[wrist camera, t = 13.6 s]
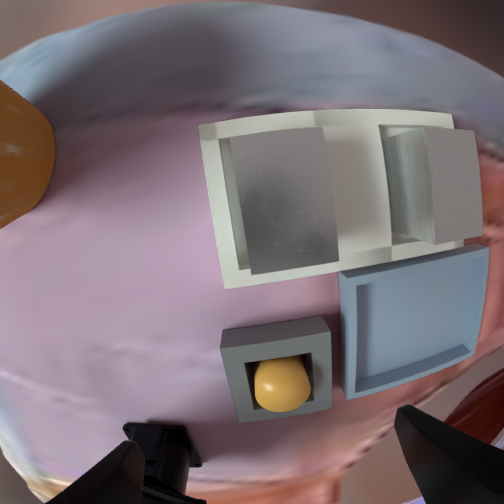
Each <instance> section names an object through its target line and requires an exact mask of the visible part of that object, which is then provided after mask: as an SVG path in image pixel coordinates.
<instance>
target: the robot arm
mask: <svg viewBox="0 0 504 504" xmlns="http://www.w3.org/2000/svg"><path fill="white" fill-rule="evenodd" d="M394 427H395V430H396V433H397V436H398V439H399V442H400V445H401V448H402V451H403V454H404V457H405V460H406V462H407V464H408V467H409V469H410V471H411V473H412V475H413V477H414V479H415V481H416V483H417V485H418V487H419V489H420V492H421V494H422V496H423V498H424V500H425V502H426V504H504V450H502V449H500V448H497V447H495V446H492V445H490V444H488V443H486V442H483V441H481V440H479V439H477V438H475V437H473V436H471V435H469V434H466V433H464V432H462V431H460V430H458V429H456V428H454V427H452V426H450V425H448V424H446V423H444V422H442V421H440V420H438V419H436V418H434V417H432V416H431V415H429V414H427V413H425V412H423V411H421V410H419V409H417V408H415V407H413V406H412V405H409V404H408V405H404V406H402V407H399V408H398V409H397V413H396V418H395V422H394ZM181 430H182V431H181ZM123 431H124V432H125V434H126V436H127V437H128V439H129V440H130V441H127V440H126V441H123V442H122V443H121V444H120V445H118V446H117V447H116V448H115V449H114V450H113V451H111V452H110V453H109V454H108V455H107V456H105V457H104V458H103V459H102V460H101V461H99V462H98V463H97V464H96V465H95V466H93V467H92V468H91V469H90V470H88V471H87V472H86V473H85V474H83V475H82V476H81V477H80V478H78V479H77V480H76V481H75V482H73V483H72V484H71V485H70V486H68V487H67V488H66V489H64V490H63V491H62V492H60V493H59V494H58V495H56V496H55V497H54V498H52V499H51V500H49V501H48V502H46V503H45V504H206V500H203V499H196V498H193V497H189V496H186V495H185V491H186V485H187V479H188V473H189V468H190V467H202V460H201V458H200V456H199V454H198V452H197V450H196V448H195V446H194V444H193V441H192V439H191V437H190V435H189V433H188V430H187V428H186V427H184V426H181V425H139V424H124V426H123Z"/></svg>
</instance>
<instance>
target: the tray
mask: <svg viewBox="0 0 504 504" xmlns="http://www.w3.org/2000/svg"><path fill="white" fill-rule="evenodd" d="M489 249H490V247H487V246H484V245H481V244H477V243H472V244H468V245H464V247H460V248H455V249H450V250H446V251H441V252H436V253H431V254H427V255H422V256H417V257H412V258H407V259H402V260H397V261H392V262H386V263H381V264H376V265H370V266H365V267H360V268H354V269H349V270H343V271H338V279H339V297H340V322H341V388H342V390H343V392H344V394H345V397H346V399H347V401H348V400H351V399H355V398H359V397H363V396H366V395H370V394H373V393H377V392H380V391H383V390H387V389H390V388H393V387H396V386H399V385H402V384H405V383H408V382H411V381H414V380H416V379H419V378H422V377H424V376H427V375H430V374H432V373H435V372H437V371H440V370H442V369H444V368H447V367H449V366H452V365H454V364H456V363H458V362H461V361H463V360H465V359H467V358H469V357H471V356H473V355H474V353H475V349H476V345H477V341H478V336H479V331H480V326H481V321H482V315H483V309H484V302H485V295H486V287H487V277H488V266H489Z"/></svg>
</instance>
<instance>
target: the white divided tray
mask: <svg viewBox="0 0 504 504" xmlns="http://www.w3.org/2000/svg"><path fill="white" fill-rule="evenodd" d="M316 127H323V132H324V138H325V144H326V150H327V157H328V163H329V170H330V177H331V185H332V192H333V200H334V209H335V218H336V228H337V238H338V250H339V261H338V262H333V263H327V264H320V265H314V266H308V267H302V268H296V269H290V270H283V271H277V272H270V273H264V274H257V275H251V270H250V263H249V257H248V251H247V244H246V238H245V232H244V225H243V219H242V213H241V206H240V200H239V193H238V187H237V180H236V174H235V168H234V161H233V155H232V148H231V142H230V137H236V136H243V135H250V134H257V133H265V132H273V131H282V130H292V129H303V128H316ZM421 127H434V128H450V129H454V125H453V120H452V115H451V114H447V113H437V112H427V111H413V110H393V109H334V110H313V111H299V112H287V113H277V114H268V115H260V116H252V117H245V118H238V119H231V120H225V121H219V122H213V123H208V124H203V125H198V130H199V137H200V144H201V151H202V157H203V164H204V171H205V177H206V183H207V190H208V196H209V202H210V208H211V214H212V220H213V226H214V232H215V238H216V243H217V249H218V255H219V260H220V266H221V271H222V277H223V282H224V287H225V289H230V288H237V287H244V286H251V285H257V284H264V283H271V282H277V281H283V280H290V279H296V278H302V277H308V276H314V275H320V274H326V273H332V272H337V271H343V270H349V269H354V268H360V267H365V266H370V265H376V264H381V263H386V262H392V261H397V260H402V259H407V258H412V257H417V256H422V255H427V254H431V253H436V252H441V251H446V250H450V249H455V248H460V247H464V239H463V240H458V241H453V242H448V243H443V244H438V245H433V244H430V243H427V242H424V241H421V240H419V239H416V238H413V237H410V236H407V235H404V234H401V233H398V232H395V231H392V224H391V211H390V200H389V190H388V181H387V173H386V166H385V159H384V152H383V146H382V139H385V138H388V137H391V136H395V135H398V134H401V133H404V132H408V131H411V130H414V129H418V128H421Z"/></svg>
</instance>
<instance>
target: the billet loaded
mask: <svg viewBox="0 0 504 504" xmlns="http://www.w3.org/2000/svg"><path fill="white" fill-rule="evenodd" d="M230 142H231V148H232V155H233V161H234V168H235V174H236V180H237V187H238V193H239V200H240V206H241V213H242V219H243V225H244V232H245V238H246V244H247V251H248V257H249V263H250V270H251V275H257V274H264V273H270V272H277V271H283V270H290V269H296V268H302V267H308V266H314V265H320V264H327V263H333V262H338V261H339V250H338V238H337V228H336V218H335V209H334V200H333V192H332V185H331V177H330V170H329V163H328V157H327V150H326V144H325V138H324V132H323V127H316V128H303V129H292V130H282V131H273V132H265V133H257V134H250V135H243V136H236V137H230Z"/></svg>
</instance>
